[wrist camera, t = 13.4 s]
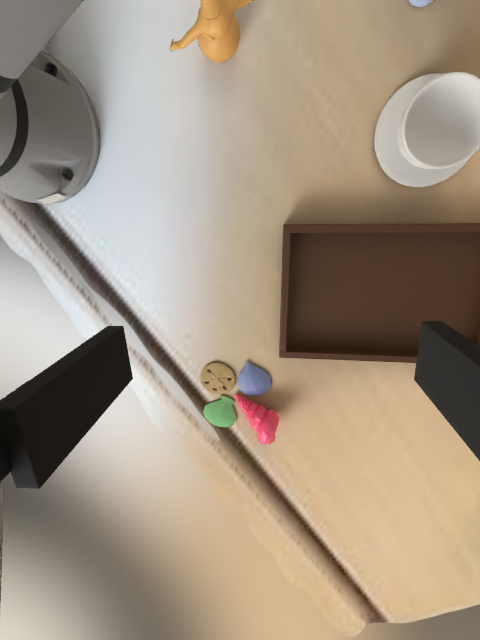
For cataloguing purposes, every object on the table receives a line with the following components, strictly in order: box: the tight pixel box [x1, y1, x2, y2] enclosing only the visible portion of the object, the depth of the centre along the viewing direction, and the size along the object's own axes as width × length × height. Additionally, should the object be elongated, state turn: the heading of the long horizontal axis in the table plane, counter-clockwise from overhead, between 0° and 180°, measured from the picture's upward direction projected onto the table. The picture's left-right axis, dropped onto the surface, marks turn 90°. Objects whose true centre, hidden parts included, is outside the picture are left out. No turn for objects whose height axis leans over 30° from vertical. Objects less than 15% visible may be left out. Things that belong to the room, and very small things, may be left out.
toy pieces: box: [201, 362, 279, 444], centre depth 42 cm, size 12×11×4 cm
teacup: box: [375, 72, 480, 187], centre depth 30 cm, size 10×10×5 cm
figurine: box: [170, 0, 253, 62], centre depth 27 cm, size 8×6×12 cm
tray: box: [279, 223, 480, 363], centre depth 37 cm, size 16×24×2 cm, turn 91°
